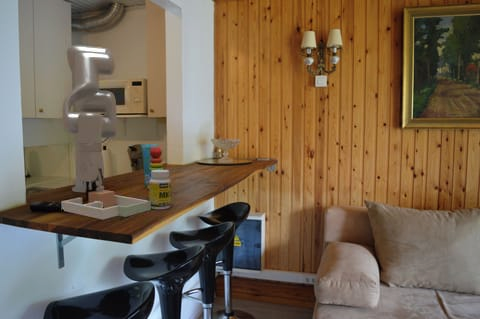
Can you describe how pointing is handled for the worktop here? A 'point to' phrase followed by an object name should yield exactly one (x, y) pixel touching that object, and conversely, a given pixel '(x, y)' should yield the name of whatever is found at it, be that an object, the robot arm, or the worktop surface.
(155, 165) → the stacking toy
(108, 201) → the block
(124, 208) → the box
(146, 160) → the tube
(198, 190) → the worktop surface
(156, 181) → the supplement bottle
